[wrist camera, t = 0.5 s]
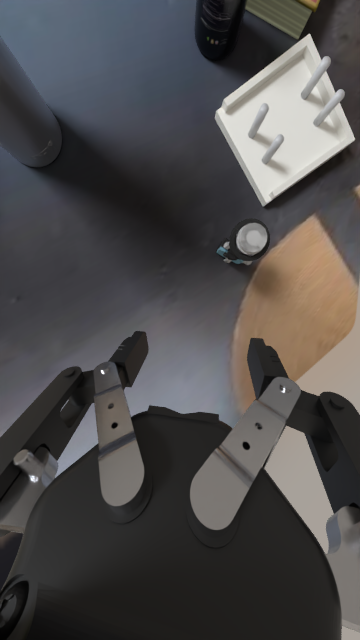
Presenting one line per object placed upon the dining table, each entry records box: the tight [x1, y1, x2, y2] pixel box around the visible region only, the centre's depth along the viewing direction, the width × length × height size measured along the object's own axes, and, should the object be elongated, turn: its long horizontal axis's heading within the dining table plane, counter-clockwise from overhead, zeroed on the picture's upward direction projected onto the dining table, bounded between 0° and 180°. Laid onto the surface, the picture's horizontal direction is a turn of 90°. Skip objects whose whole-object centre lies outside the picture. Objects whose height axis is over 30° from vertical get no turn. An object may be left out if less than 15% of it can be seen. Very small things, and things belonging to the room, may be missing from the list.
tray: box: [215, 34, 355, 207], centre depth 27 cm, size 16×16×5 cm
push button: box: [216, 219, 270, 265], centre depth 27 cm, size 7×5×10 cm
